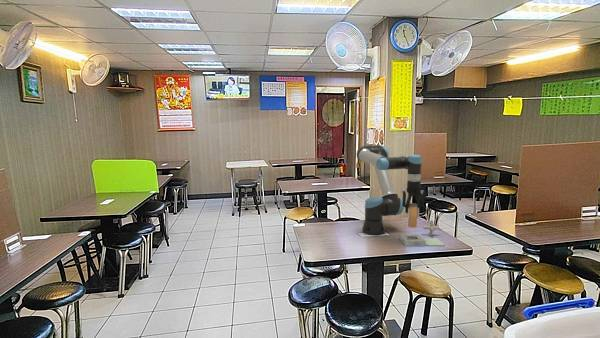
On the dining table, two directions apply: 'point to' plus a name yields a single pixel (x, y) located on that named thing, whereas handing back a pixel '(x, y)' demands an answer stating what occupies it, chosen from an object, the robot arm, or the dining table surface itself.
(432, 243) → the mat
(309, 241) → the dining table surface
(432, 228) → the pipe connector
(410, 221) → the orange tall cylinder
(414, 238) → the housing
